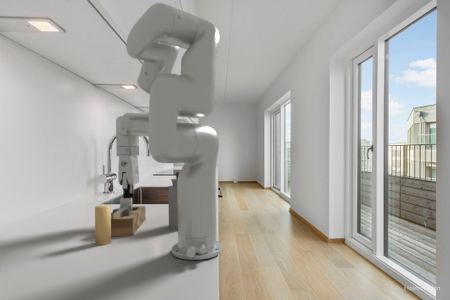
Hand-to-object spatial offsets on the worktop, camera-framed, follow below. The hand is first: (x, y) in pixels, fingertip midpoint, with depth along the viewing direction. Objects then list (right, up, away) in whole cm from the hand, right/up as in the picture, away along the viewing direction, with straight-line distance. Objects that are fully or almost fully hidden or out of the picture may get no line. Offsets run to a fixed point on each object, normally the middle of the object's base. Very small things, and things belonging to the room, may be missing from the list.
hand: (128, 204), depth 97 cm
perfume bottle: (+19, -7, -3) cm, 21 cm away
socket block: (0, -7, -4) cm, 8 cm away
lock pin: (+1, -2, -8) cm, 8 cm away
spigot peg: (0, -7, -20) cm, 21 cm away
